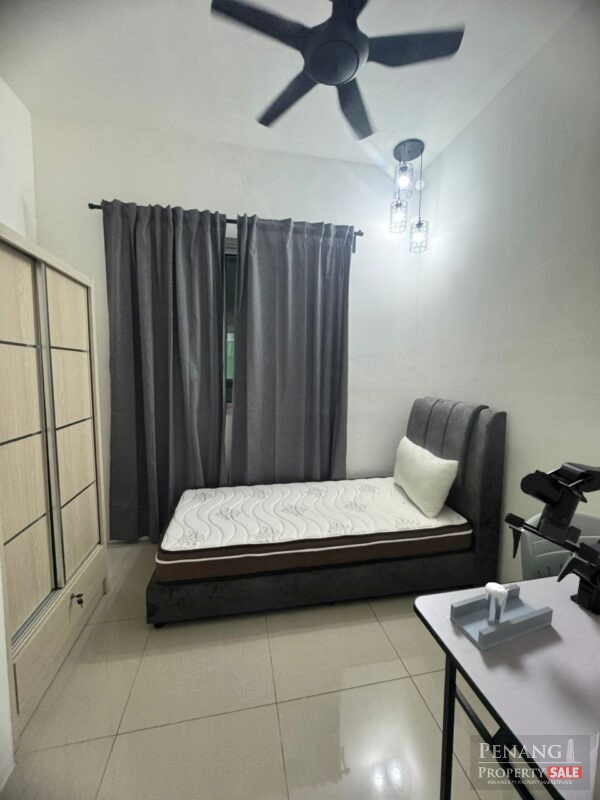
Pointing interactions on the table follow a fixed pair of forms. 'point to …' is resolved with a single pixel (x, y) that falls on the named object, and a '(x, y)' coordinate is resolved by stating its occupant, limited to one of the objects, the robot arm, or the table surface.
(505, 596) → the milkshake
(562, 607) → the table surface
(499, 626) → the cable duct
